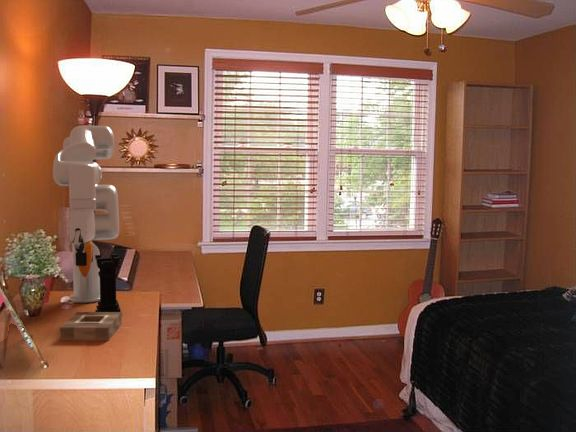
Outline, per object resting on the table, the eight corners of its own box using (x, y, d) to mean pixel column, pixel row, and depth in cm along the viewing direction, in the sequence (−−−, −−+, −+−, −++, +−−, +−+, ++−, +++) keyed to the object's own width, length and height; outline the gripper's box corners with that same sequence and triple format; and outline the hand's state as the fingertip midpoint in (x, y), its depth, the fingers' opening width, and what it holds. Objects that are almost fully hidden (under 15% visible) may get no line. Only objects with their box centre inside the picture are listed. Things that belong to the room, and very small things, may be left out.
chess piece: (121, 316, 204) (120, 257, 202) (97, 318, 201) (95, 259, 199) (119, 310, 212) (118, 253, 209) (95, 312, 209) (93, 254, 206)
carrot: (87, 279, 183) (86, 230, 181) (73, 278, 184) (71, 229, 182) (96, 275, 188) (94, 227, 185) (82, 274, 189) (80, 226, 187)
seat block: (77, 324, 195) (77, 311, 195) (121, 324, 196) (121, 311, 195) (60, 340, 179) (60, 326, 179) (108, 340, 180) (108, 326, 179)
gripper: (79, 201, 191) (81, 258, 194) (60, 207, 174) (62, 269, 177) (103, 201, 191) (105, 258, 194) (86, 207, 175) (88, 269, 177)
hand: (84, 263), depth 185 cm, fingers closed on carrot, 4 cm apart
